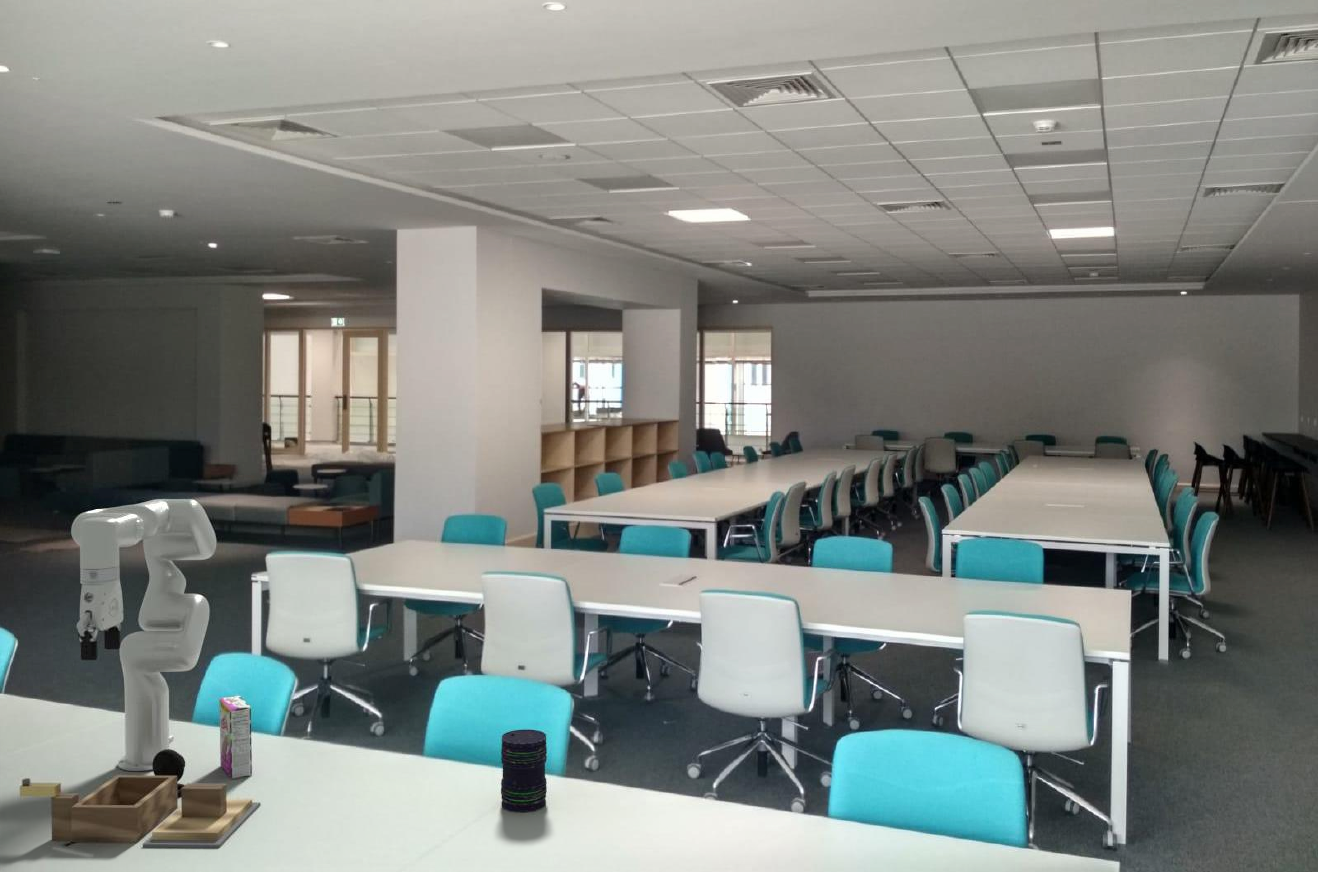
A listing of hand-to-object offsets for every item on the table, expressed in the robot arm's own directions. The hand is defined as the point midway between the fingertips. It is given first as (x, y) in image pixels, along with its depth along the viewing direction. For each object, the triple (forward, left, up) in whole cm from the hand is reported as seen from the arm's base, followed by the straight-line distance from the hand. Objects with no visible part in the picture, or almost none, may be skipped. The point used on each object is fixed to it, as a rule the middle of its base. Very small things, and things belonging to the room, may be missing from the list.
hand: (101, 654), depth 236 cm
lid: (+12, +27, -32) cm, 43 cm away
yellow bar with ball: (+19, -3, -24) cm, 30 cm away
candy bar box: (-20, +21, -32) cm, 44 cm away
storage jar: (-1, +91, -32) cm, 97 cm away
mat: (+12, +27, -32) cm, 44 cm away
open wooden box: (+12, +9, -32) cm, 36 cm away
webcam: (-5, +12, -32) cm, 35 cm away
